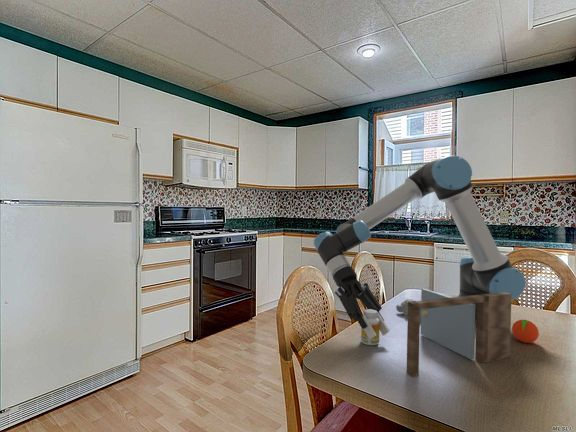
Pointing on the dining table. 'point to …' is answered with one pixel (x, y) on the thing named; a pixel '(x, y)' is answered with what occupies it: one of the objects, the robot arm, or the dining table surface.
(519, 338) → the clementine
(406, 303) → the mineral specimen
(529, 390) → the dining table surface
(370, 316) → the supplement bottle
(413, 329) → the door frame
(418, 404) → the dining table surface
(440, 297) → the door
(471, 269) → the robot arm
